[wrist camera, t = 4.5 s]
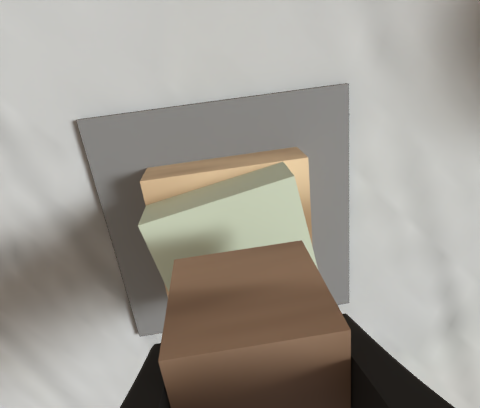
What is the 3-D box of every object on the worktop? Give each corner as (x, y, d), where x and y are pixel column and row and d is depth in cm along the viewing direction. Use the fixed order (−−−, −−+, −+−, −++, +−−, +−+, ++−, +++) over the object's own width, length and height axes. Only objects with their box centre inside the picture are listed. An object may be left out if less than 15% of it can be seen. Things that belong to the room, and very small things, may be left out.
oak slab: (304, 272, 19) (314, 295, 17) (175, 292, 19) (172, 317, 17) (296, 146, 17) (308, 157, 15) (147, 167, 16) (139, 181, 14)
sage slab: (313, 277, 17) (326, 303, 15) (194, 314, 17) (193, 344, 15) (283, 161, 15) (294, 175, 13) (146, 205, 15) (137, 225, 13)
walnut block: (307, 339, 13) (350, 454, 9) (195, 357, 12) (191, 483, 9) (301, 240, 11) (350, 329, 7) (173, 259, 11) (158, 361, 7)
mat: (347, 299, 20) (349, 302, 20) (140, 332, 20) (139, 336, 20) (346, 83, 16) (348, 83, 16) (78, 119, 15) (76, 120, 15)
